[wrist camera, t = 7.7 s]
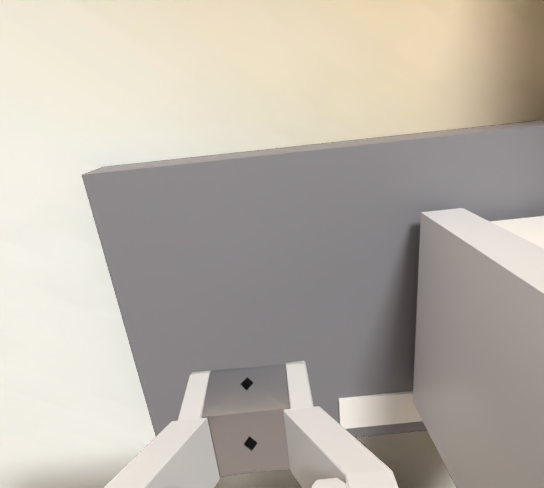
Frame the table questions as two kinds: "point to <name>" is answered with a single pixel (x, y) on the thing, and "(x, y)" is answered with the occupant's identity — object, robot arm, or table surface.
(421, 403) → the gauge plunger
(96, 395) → the table surface
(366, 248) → the grey slide rail base
